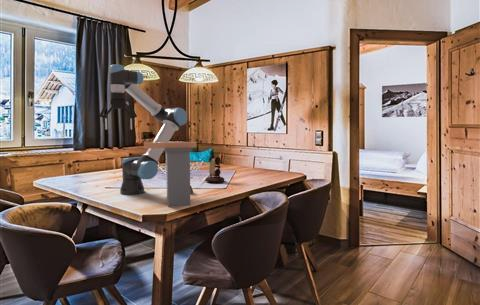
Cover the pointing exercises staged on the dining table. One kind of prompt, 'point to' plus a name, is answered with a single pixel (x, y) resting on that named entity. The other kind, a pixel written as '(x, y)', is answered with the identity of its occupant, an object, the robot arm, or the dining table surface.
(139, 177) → the robot arm
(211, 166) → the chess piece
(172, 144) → the slat
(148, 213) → the dining table surface
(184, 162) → the pedestal
